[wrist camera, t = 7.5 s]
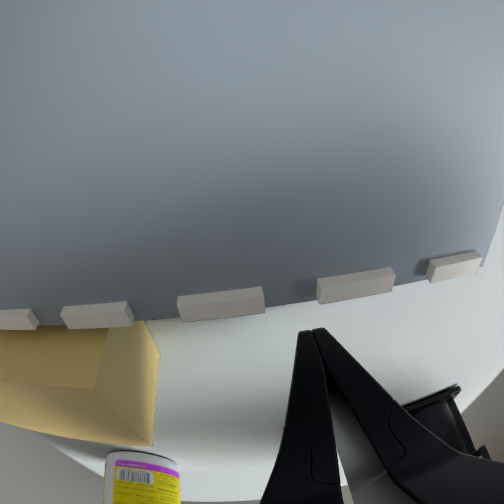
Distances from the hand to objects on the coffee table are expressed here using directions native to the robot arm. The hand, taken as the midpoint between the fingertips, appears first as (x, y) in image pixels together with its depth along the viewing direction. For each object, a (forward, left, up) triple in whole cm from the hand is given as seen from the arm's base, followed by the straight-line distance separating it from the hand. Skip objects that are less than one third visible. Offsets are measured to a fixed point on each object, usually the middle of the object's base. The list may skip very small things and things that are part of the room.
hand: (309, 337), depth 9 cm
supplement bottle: (+13, +18, -2) cm, 22 cm away
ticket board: (+4, -8, -1) cm, 9 cm away
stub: (+10, 0, -1) cm, 10 cm away
